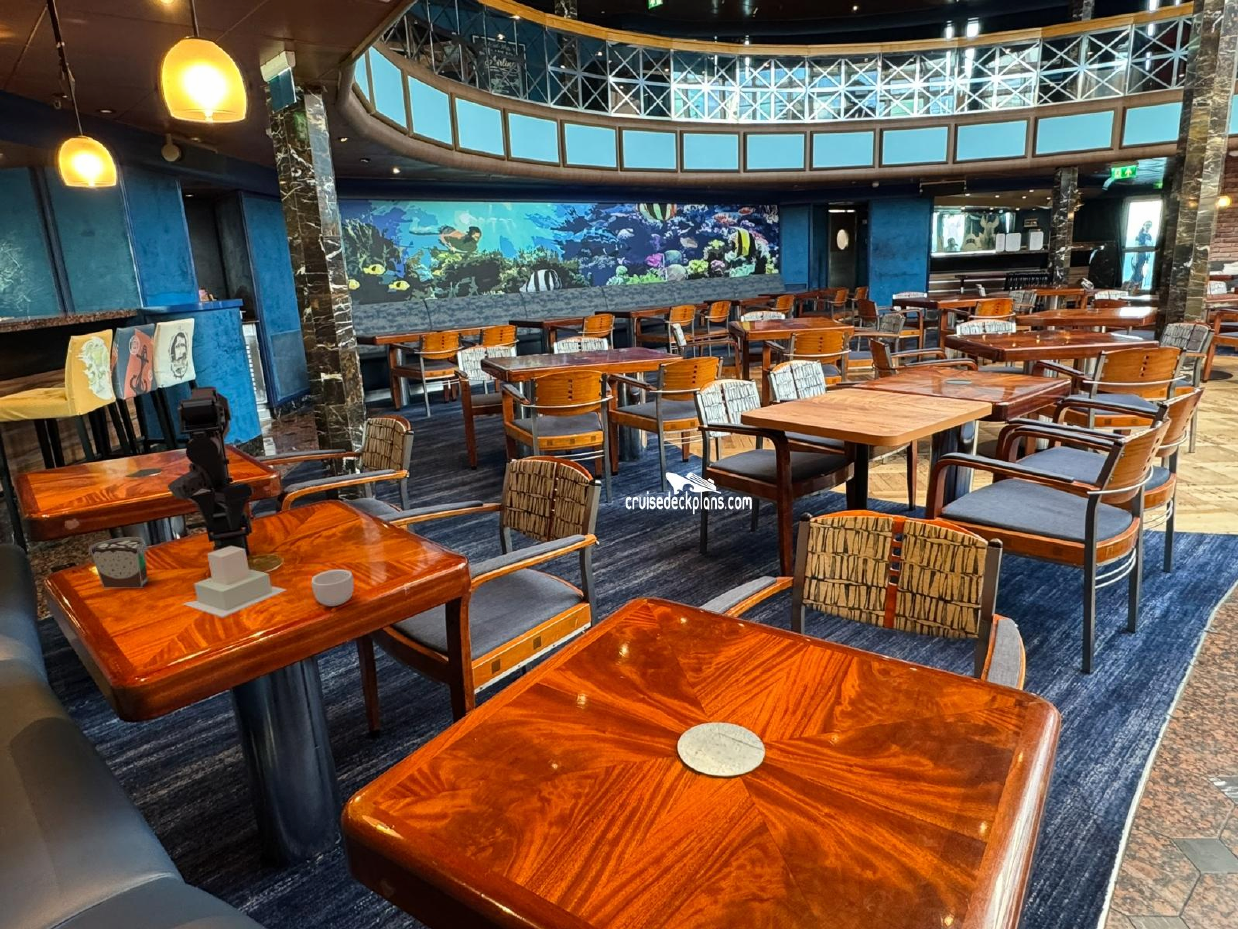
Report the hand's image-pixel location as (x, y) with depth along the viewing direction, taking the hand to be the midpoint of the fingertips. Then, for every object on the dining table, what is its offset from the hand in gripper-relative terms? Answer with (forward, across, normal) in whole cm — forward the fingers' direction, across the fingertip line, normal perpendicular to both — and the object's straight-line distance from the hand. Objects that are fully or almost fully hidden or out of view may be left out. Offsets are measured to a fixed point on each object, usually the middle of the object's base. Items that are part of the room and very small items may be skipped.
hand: (221, 526), depth 160 cm
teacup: (+13, +30, +3) cm, 33 cm away
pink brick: (+8, +11, -6) cm, 15 cm away
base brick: (+12, +11, -6) cm, 17 cm away
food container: (+13, -22, -10) cm, 27 cm away
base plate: (+13, +11, -6) cm, 18 cm away
